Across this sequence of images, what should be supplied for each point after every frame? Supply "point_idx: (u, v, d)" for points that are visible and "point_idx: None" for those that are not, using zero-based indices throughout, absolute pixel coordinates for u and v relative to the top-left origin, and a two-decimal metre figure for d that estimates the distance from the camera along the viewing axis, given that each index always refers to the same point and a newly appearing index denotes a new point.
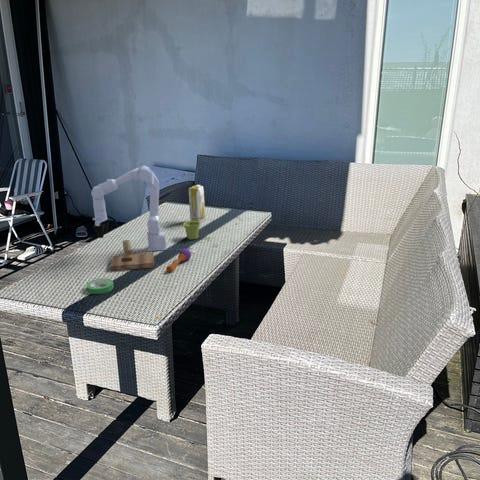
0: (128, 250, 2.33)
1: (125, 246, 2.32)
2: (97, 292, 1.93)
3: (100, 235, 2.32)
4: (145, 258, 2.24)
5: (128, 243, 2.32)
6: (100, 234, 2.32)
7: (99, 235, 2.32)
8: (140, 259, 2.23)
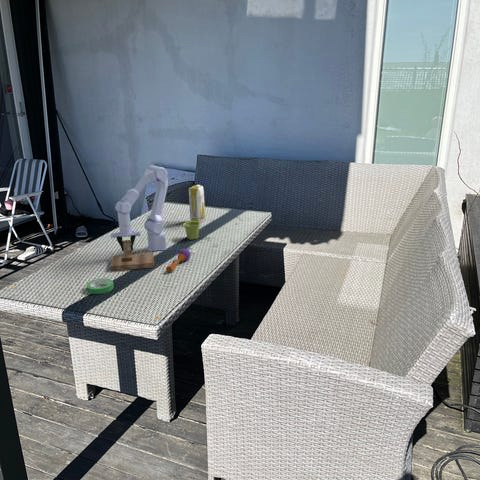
0: (128, 250, 2.33)
1: (125, 246, 2.32)
2: (97, 292, 1.93)
3: None
4: (145, 258, 2.24)
5: (128, 243, 2.32)
6: (121, 247, 2.33)
7: None
8: (140, 259, 2.23)
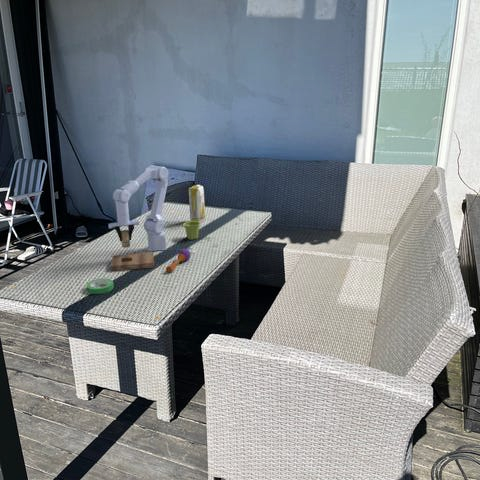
0: (127, 240, 2.27)
1: (124, 236, 2.26)
2: (97, 292, 1.93)
3: (119, 238, 2.27)
4: (145, 258, 2.24)
5: (127, 233, 2.26)
6: None
7: (119, 238, 2.27)
8: (140, 259, 2.23)
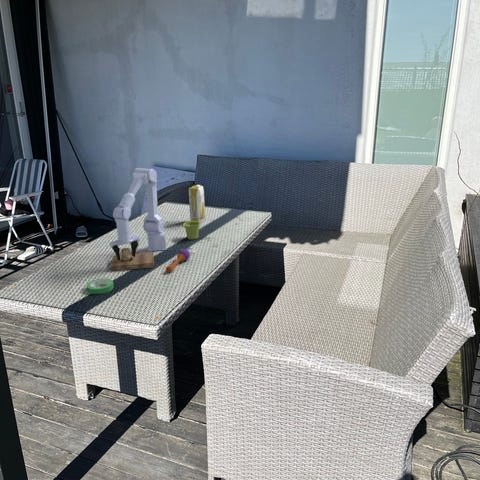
0: (128, 258, 2.22)
1: (125, 254, 2.21)
2: (97, 292, 1.93)
3: (117, 257, 2.20)
4: (145, 258, 2.24)
5: (128, 251, 2.21)
6: (117, 256, 2.20)
7: (117, 257, 2.21)
8: (140, 259, 2.23)
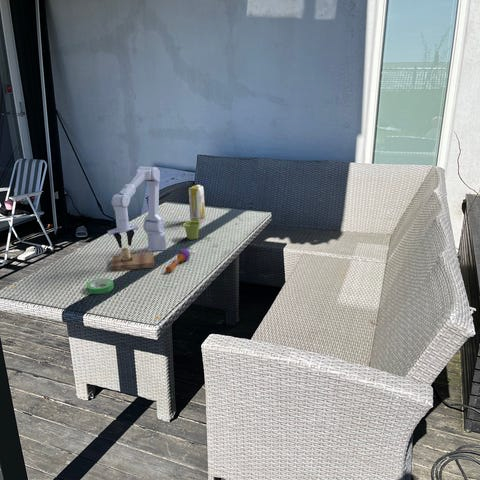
0: (128, 258, 2.22)
1: (125, 254, 2.21)
2: (97, 292, 1.93)
3: (119, 245, 2.19)
4: (145, 258, 2.24)
5: (128, 251, 2.21)
6: (119, 244, 2.19)
7: (118, 244, 2.20)
8: (140, 259, 2.23)
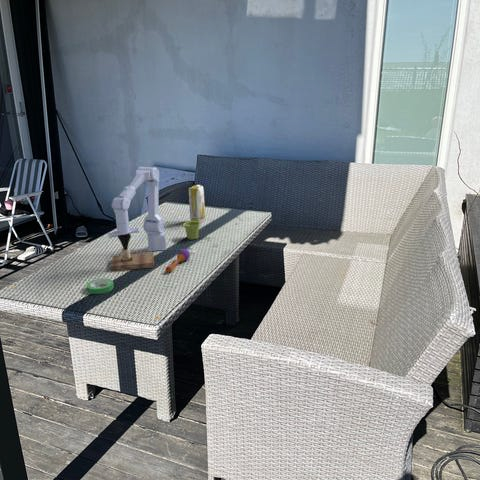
0: (128, 258, 2.22)
1: (125, 254, 2.21)
2: (97, 292, 1.93)
3: (123, 246, 2.21)
4: (145, 258, 2.24)
5: (128, 251, 2.21)
6: (123, 245, 2.20)
7: (123, 246, 2.21)
8: (140, 259, 2.23)
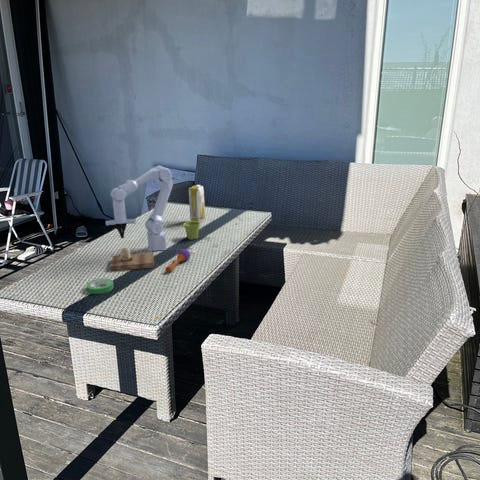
0: (128, 258, 2.22)
1: (125, 254, 2.21)
2: (97, 292, 1.93)
3: None
4: (145, 258, 2.24)
5: (128, 251, 2.21)
6: (120, 234, 2.33)
7: None
8: (140, 259, 2.23)
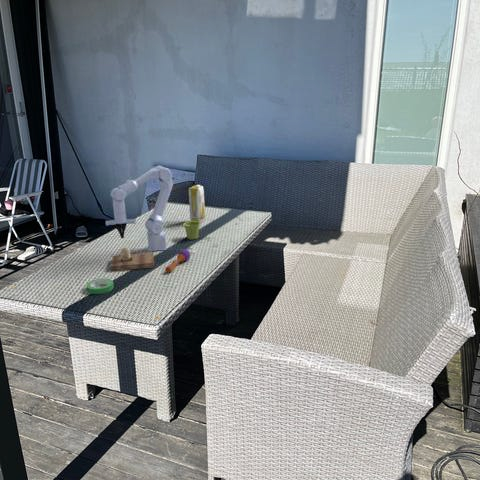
0: (128, 258, 2.22)
1: (125, 254, 2.21)
2: (97, 292, 1.93)
3: None
4: (145, 258, 2.24)
5: (128, 251, 2.21)
6: (120, 234, 2.33)
7: None
8: (140, 259, 2.23)
